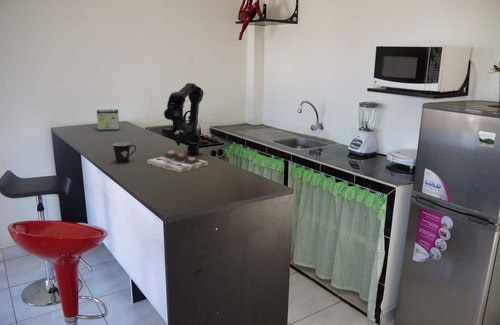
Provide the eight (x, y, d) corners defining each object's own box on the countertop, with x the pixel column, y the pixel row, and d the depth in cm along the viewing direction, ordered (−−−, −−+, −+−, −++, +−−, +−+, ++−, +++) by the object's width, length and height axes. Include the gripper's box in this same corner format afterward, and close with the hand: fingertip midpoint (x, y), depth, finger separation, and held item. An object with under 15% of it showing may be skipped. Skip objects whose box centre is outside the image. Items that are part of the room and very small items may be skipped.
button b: (191, 160, 206) (191, 156, 206) (196, 161, 204) (196, 158, 204) (186, 161, 204) (186, 158, 203) (191, 162, 202) (191, 159, 201)
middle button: (181, 156, 211) (181, 152, 210) (186, 157, 209) (186, 153, 208) (176, 157, 208) (176, 153, 207) (181, 158, 206) (181, 154, 205)
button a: (171, 153, 215) (171, 150, 215) (176, 154, 213) (176, 151, 213) (166, 154, 213) (166, 151, 212) (171, 155, 211) (171, 152, 210)
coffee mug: (113, 164, 203) (112, 146, 200) (114, 160, 211) (113, 142, 208) (136, 163, 206) (135, 145, 203) (136, 159, 214) (135, 142, 211)
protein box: (98, 129, 302) (97, 109, 298) (119, 128, 306) (118, 109, 302) (97, 131, 292) (96, 111, 288) (119, 130, 297) (118, 110, 293)
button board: (175, 157, 222) (174, 150, 221) (207, 165, 207) (207, 158, 206) (147, 163, 207) (146, 156, 206) (180, 172, 192) (179, 165, 191)
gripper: (175, 120, 192) (176, 150, 196) (200, 116, 207) (201, 144, 211) (160, 118, 198) (161, 147, 202) (185, 114, 213) (186, 141, 217)
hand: (178, 145), depth 208 cm, fingers closed
